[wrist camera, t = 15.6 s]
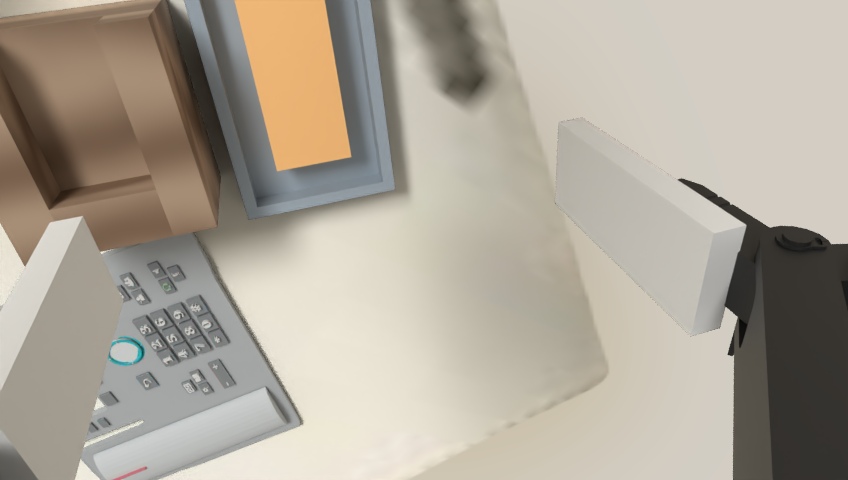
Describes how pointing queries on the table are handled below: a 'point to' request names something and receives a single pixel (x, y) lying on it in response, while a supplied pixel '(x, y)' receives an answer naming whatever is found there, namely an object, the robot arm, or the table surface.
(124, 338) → the office telephone
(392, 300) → the table surface
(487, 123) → the table surface
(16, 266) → the table surface
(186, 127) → the pocket block
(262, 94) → the orange bar
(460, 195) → the table surface
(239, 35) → the slate tray
